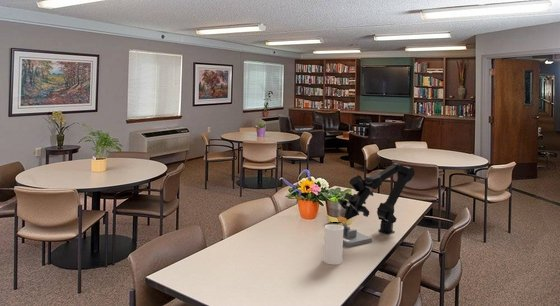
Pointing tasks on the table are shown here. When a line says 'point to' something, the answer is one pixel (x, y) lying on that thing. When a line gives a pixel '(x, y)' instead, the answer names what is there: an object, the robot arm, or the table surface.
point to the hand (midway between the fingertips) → (344, 220)
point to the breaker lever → (343, 222)
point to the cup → (333, 244)
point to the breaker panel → (354, 238)
